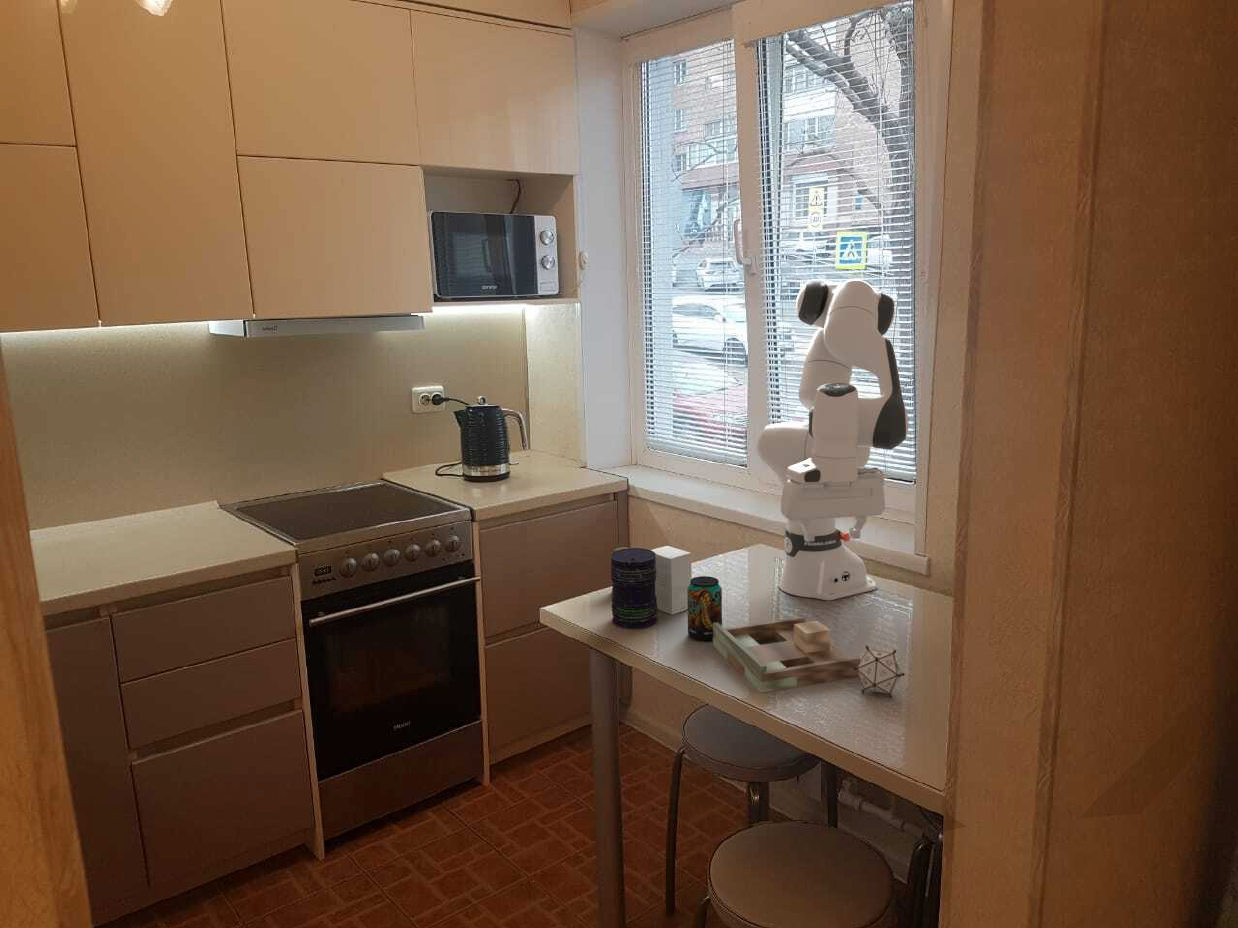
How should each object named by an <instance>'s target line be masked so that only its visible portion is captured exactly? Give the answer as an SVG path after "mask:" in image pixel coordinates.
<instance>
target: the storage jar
mask: <svg viewBox="0 0 1238 928" xmlns="http://www.w3.org/2000/svg"><path fill="white" fill-rule="evenodd" d="M626 548H627V549H621V550H617V551H615V552H613V551H612V553H611V554H610V574H611V575H610V579H611V582H612V586H613V596H612V595H611V596H612V597H611V612H612V624H613V625H614V626H616V627H618V628H620V629H623V630H624V629H625V630H643V629H644V630H645V629H647V628H650V627H653V626H655V625H656V624H657V623H658V617H657V614H658V609H657V597H656V595H655V581H656V577H657V575H656V571H657V568H656V560H655V559H656V553H655V552H653V551H651V550H652V549H647V548H639V547H637V548H636V547H632V548H630V547H626Z"/></svg>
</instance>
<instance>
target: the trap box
mask: <svg viewBox="0 0 1238 928" xmlns="http://www.w3.org/2000/svg"><path fill="white" fill-rule="evenodd" d="M805 622H806V618H805V617H804V616H798V617H797V616H796V617H791V618H790V617H789V618H785V619H777V620H770V621H764V622H757V623H752V624H751V623H750V624H744V625H738V626H729V627H724V626H723V625H722V626H721V625H720V624H719V623H718V622H715V623H713V641H712V647H713V648H715V650H716V651H717V652H718V653H719V654H720V655H722V657H723V658H725V659H726V660H727V661H728V662H729V663H730V664H731V665H732V666H733V667H734V668H735V669H736V670H737V671H738V672H739V673H740V674H741V675H742V676H743V677H744V678H745V679H746V680H747V681H748V682H749V683H750V684H752V686H753V687H755V688H756V690H758V692H760V694H763V693H768V692H775V691H781V690H785V689H791V688H798V687H803V686H809V685H814V684H815V685H816V684H821V683H826V682H833V681H838V680H839V681H840V680H845V679H849V678H850V679H851V678H857V677H859V675H858V672H857V670H853V669H852V668H853V667H856V668H857V667H858V665H859V663H860V662H861V660H862V658H861V657H859V656H851V657H849V656H848V655H846V654H845V653H844V652H842V651H841V650H839V648H837V647H835V645H833V644H831V643H830V649H829V650H823V651H817V652H810V653H805V652H804V651H803V650H802V649H800V648H799V647H798V646H797V645H795V644H794V624H798V623H805Z"/></svg>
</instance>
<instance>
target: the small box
mask: <svg viewBox="0 0 1238 928" xmlns="http://www.w3.org/2000/svg"><path fill="white" fill-rule="evenodd" d="M650 550H651V551H653V552H655V553H656V559H655V560H656V568H657V571H656V575H657V577H656V581H655V595H656V597H657V610H659V611H661V612H664V613H666V614H669V615H671V616H673V615H675V614H679V613H681V612H684V611H686V610H687V611H688V605H687V589H688V587H689V585H690V584H691V583H690V581H691V579H693V578H692V577H693V576H692V572H693V571H692V552H690V551H689V552H688V551H686V550H683V549H679V548H676V547H673V546H669V545H665V546H661V547H657V548H653V549H650Z"/></svg>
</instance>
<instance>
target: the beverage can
mask: <svg viewBox="0 0 1238 928" xmlns="http://www.w3.org/2000/svg"><path fill="white" fill-rule="evenodd" d="M690 583H691V584H690V585H689V587H688V589H687V605H688V609H687V633H688V635H689V636H690V638H691V639H692V640H695V641H698V642H713V623H715V622H718V623H719V624H720V625H721V626H722V627H723V589H722V586H721V585H720V583H719V579H718V578H716V577H714V576H707V575H706V576H705V575H704V576H696V577H693V578H692V579H691V581H690Z"/></svg>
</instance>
